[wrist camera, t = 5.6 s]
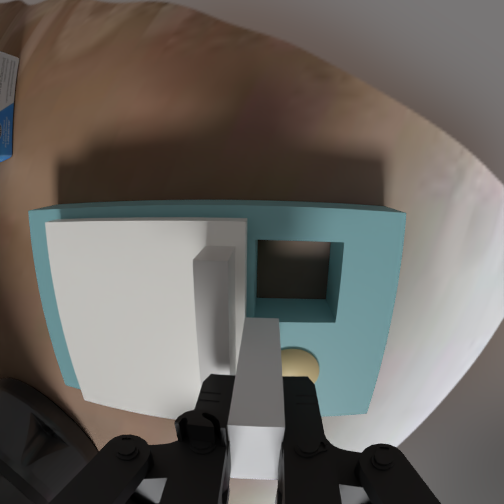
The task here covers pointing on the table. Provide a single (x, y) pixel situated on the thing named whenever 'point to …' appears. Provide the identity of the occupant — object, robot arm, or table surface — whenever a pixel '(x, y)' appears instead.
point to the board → (287, 310)
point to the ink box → (7, 102)
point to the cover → (149, 306)
